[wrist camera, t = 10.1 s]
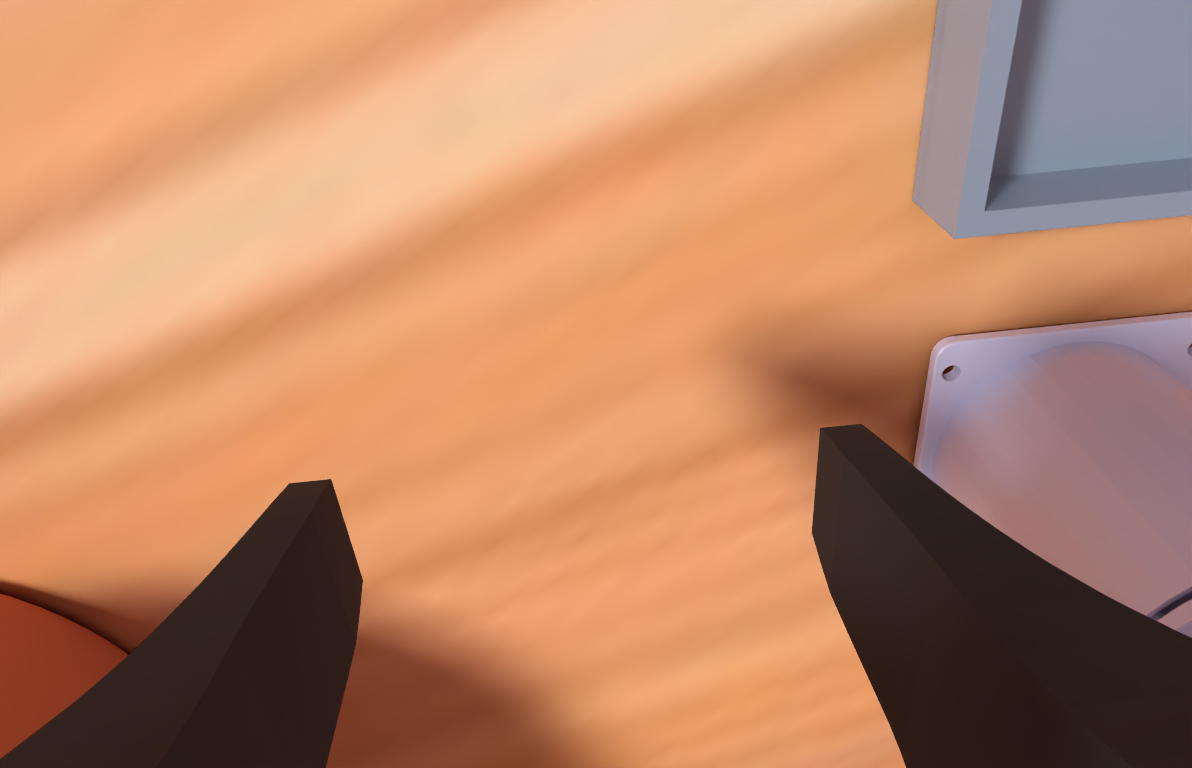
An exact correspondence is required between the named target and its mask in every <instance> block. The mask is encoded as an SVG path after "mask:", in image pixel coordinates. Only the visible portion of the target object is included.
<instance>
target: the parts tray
mask: <svg viewBox="0 0 1192 768" xmlns="http://www.w3.org/2000/svg"><path fill="white" fill-rule="evenodd" d="M912 201H913V202H914V203H916V204H917V205H918V206H919V207H920V208H921V209H922V210H923V211H924V212H925V213H926V214H927V215H929V216H930V217H931V218H932V219H933V220H934V221H935V222H936V223H937V224H938V225H939V226H941V227H942V228H943V229H944V230H945V231H946V232H947V233H948V234H949V235H950V236H951V237H952V238H954V239H959V238H969V237H979V236H989V235H999V234H1009V233H1019V232H1028V231H1038V230H1048V229H1058V228H1068V227H1078V226H1088V225H1098V224H1108V223H1118V222H1128V221H1138V220H1148V219H1158V218H1168V217H1178V216H1188V215H1192V0H938V6H937V13H936V21H935V29H934V36H933V44H932V52H931V60H930V67H929V75H928V83H927V91H926V98H925V106H924V114H923V121H922V129H921V137H920V145H919V152H918V160H917V168H916V175H915V183H914V191H913V199H912Z"/></svg>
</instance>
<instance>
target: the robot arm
mask: <svg viewBox="0 0 1192 768" xmlns="http://www.w3.org/2000/svg"><path fill="white" fill-rule="evenodd" d="M1191 344H1192V312H1183V313H1173V314H1164V315H1154V316H1144V317H1134V318H1125V319H1115V320H1105V321H1095V322H1086V323H1076V324H1066V325H1056V326H1047V327H1037V328H1027V329H1017V330H1008V331H998V332H988V333H978V334H969V335H959V336H950V337H947V338H944V339H942V340H941V341H939V342H938V343H937V344H936V345H935V346H934V347H933V350H932V352H931V357H930V364H929V370H928V376H927V383H926V389H925V395H924V402H923V408H922V414H921V420H920V427H919V433H918V439H917V446H916V452H915V458H914V465H912V464H911V463H909V462H908V461H907V460H906V459H904V458H903V457H902V456H901V455H899V454H898V453H897V452H896V451H895V450H893V449H892V448H891V447H890V446H888V445H887V444H886V443H885V442H884V441H882V440H881V439H880V438H879V437H877V436H876V435H875V434H874V433H872V432H871V431H870V430H869V429H867V428H866V427H865V426H863V425H862V424H856V425H846V426H837V427H827V428H820V438H819V451H818V463H817V476H816V488H815V500H814V513H813V525H812V534H813V538H814V541H815V545H816V548H817V551H818V555H819V558H820V562H821V565H822V568H823V572H824V575H825V578H826V581H827V584H828V587H829V590H830V593H831V596H832V598H833V600H834V602H835V605H836V607H837V609H838V612H839V614H840V616H841V618H842V621H843V623H844V625H845V627H846V629H847V632H848V634H849V636H850V638H851V641H852V643H853V645H854V647H855V649H856V652H857V654H858V656H859V658H860V660H861V663H862V665H863V667H864V669H865V671H866V674H867V676H868V678H869V680H870V682H871V685H872V687H873V689H874V691H875V693H876V696H877V698H878V700H879V702H880V704H881V707H882V709H883V711H884V713H885V715H886V718H887V720H888V722H889V724H890V727H891V729H892V732H893V734H894V736H895V739H896V741H897V744H898V746H899V749H900V751H901V754H902V757H903V759H904V762H905V765H906V768H1192V346H1191V347H1190V348H1189V346H1190V345H1191ZM952 365H955V366H954V368H953V369H952V370H951V371H950V372H949V373H946V374H942V373H943V371H944V370H945V369H946V368H947V367H949V366H952ZM362 583H363V579H362V576H361V573H360V570H359V566H358V563H357V560H356V557H355V554H354V551H353V547H352V544H351V541H350V538H349V535H348V531H347V528H346V525H345V522H344V519H343V516H342V512H341V509H340V506H339V503H338V500H337V496H336V493H335V490H334V487H333V484H332V481H331V479H328V480H319V481H309V482H299V483H290V484H289V485H288V486H287V487H286V488H285V489H284V490H283V491H282V492H281V493H280V494H279V496H278V497H277V498H276V499H275V500H274V501H273V502H272V503H271V505H270V506H269V507H268V508H267V509H266V510H265V512H264V513H263V514H262V515H261V516H260V517H259V518H258V520H257V521H256V522H255V523H254V524H253V525H252V526H251V528H250V529H249V530H248V531H247V532H246V533H245V534H244V536H243V537H242V538H241V539H240V540H239V541H238V542H237V544H236V545H235V546H234V547H233V548H232V549H231V550H230V551H229V553H228V554H227V555H226V556H225V557H224V558H223V559H222V560H221V561H220V563H219V564H218V565H217V566H216V567H215V568H214V569H213V570H212V571H211V573H210V574H209V575H208V576H207V577H206V578H205V579H204V580H203V581H202V582H201V584H200V585H199V586H198V587H197V588H196V589H195V590H194V591H193V592H192V593H191V594H190V595H189V596H188V597H187V598H186V599H185V600H184V601H183V602H182V603H181V604H180V605H179V606H178V607H177V608H176V609H175V610H174V611H173V612H172V613H171V614H170V615H169V616H168V617H167V618H166V619H165V620H164V621H163V622H162V623H161V624H160V625H159V626H158V627H157V628H156V629H155V630H154V631H153V632H152V633H151V634H150V635H149V636H148V637H147V638H146V639H145V640H144V641H143V642H142V643H141V644H140V645H139V646H138V647H137V648H136V649H134V650H133V651H132V652H131V653H130V654H129V655H128V656H127V657H126V658H125V659H123V660H122V661H121V662H120V663H119V664H118V665H117V666H116V667H115V668H113V669H112V670H111V671H110V672H109V673H108V674H106V675H105V676H104V677H103V678H102V679H101V680H99V681H98V682H97V683H96V684H95V685H94V686H93V687H91V688H90V689H89V690H88V691H87V692H86V693H84V694H83V695H82V696H81V697H80V698H78V699H77V700H76V701H75V702H73V703H72V704H71V705H70V706H69V707H67V708H66V709H65V710H63V711H62V712H61V713H59V714H58V715H57V716H55V717H54V718H53V719H52V720H50V721H49V722H48V723H46V724H45V725H44V726H42V727H41V728H40V729H39V730H37V731H36V732H35V733H33V734H32V735H31V736H29V737H28V738H27V739H25V740H24V741H23V742H22V743H20V744H19V745H18V746H16V747H15V748H14V749H12V750H11V751H10V752H9V753H7V754H6V755H5V756H3V757H2V758H1V759H0V768H326V764H327V760H328V756H329V752H330V748H331V744H332V739H333V735H334V731H335V727H336V723H337V719H338V715H339V711H340V707H341V703H342V699H343V695H344V691H345V687H346V683H347V679H348V675H349V671H350V666H351V662H352V658H353V654H354V649H355V645H356V638H357V630H358V622H359V614H360V604H361V593H362Z"/></svg>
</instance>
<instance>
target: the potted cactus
mask: <svg viewBox="0 0 1192 768" xmlns="http://www.w3.org/2000/svg"><path fill="white" fill-rule="evenodd" d="M127 656H128V654H127V653H125V652H124V651H122V650H121V649H119V648H118V647H117V646H115V645H114V644H112V643H111V642H109V641H107V640H105V639H104V638H102V637H100V636H99V635H97V634H95V633H93V632H92V631H90V630H88V629H86V628H84V627H82V626H80V625H78V624H76V623H74V622H72V621H70V620H68V619H66V618H64V617H62V616H60V615H58V614H55V613H53V612H50V611H48V610H46V609H43V608H41V607H39V606H36V605H33V604H30V603H27V602H24V601H22V600H19V599H16V598H13V597H10V596H6V595H3V594H0V759H1V758H2V757H3V756H5V755H6V754H7V753H9V752H10V751H11V750H12V749H14V748H15V747H16V746H18V745H19V744H20V743H22V742H23V741H24V740H25V739H27V738H28V737H29V736H31V735H32V734H33V733H35V732H36V731H37V730H39V729H40V728H41V727H42V726H44V725H45V724H46V723H48V722H49V721H50V720H52V719H53V718H54V717H55V716H57V715H58V714H59V713H61V712H62V711H63V710H65V709H66V708H67V707H69V706H70V705H71V704H72V703H73V702H75V701H76V700H77V699H78V698H80V697H81V696H82V695H83V694H84V693H86V692H87V691H88V690H89V689H90V688H91V687H93V686H94V685H95V684H96V683H97V682H98V681H99V680H101V679H102V678H103V677H104V676H105V675H106V674H108V673H109V672H110V671H111V670H112V669H113V668H115V667H116V666H117V665H118V664H119V663H120V662H121V661H122V660H123V659H125V658H126V657H127Z"/></svg>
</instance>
